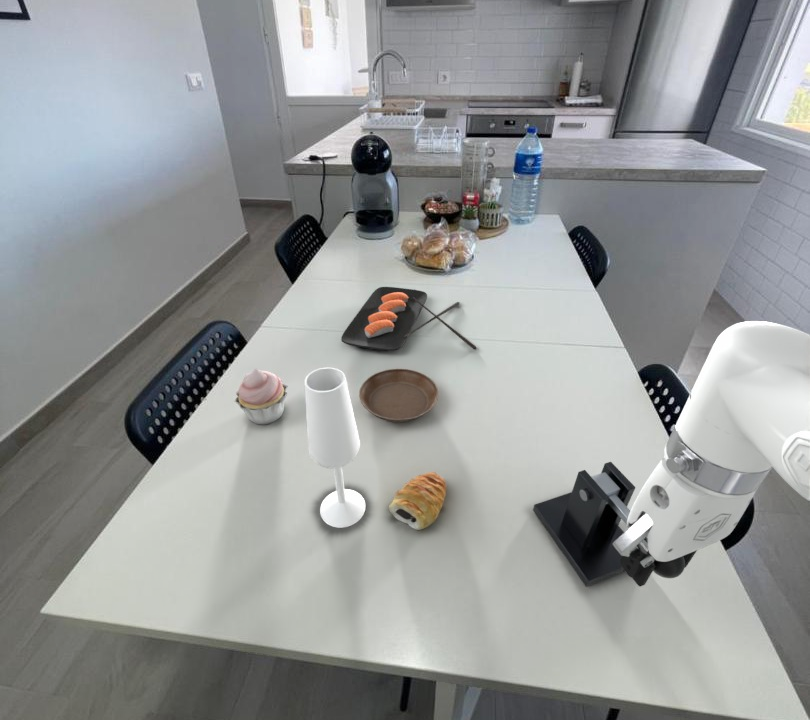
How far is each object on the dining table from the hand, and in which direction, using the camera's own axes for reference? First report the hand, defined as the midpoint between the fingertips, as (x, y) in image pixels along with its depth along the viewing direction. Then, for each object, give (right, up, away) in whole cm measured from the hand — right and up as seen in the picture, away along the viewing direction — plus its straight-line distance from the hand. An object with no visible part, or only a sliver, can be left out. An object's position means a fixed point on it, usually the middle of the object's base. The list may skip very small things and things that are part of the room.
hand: (652, 564), depth 50 cm
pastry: (-26, +1, +16) cm, 30 cm away
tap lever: (-1, +3, +3) cm, 4 cm away
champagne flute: (-37, +1, +15) cm, 40 cm away
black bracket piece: (-3, -1, +11) cm, 12 cm away
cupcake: (-54, +13, +32) cm, 64 cm away
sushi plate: (-25, +31, +57) cm, 70 cm away
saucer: (-29, +15, +34) cm, 48 cm away
